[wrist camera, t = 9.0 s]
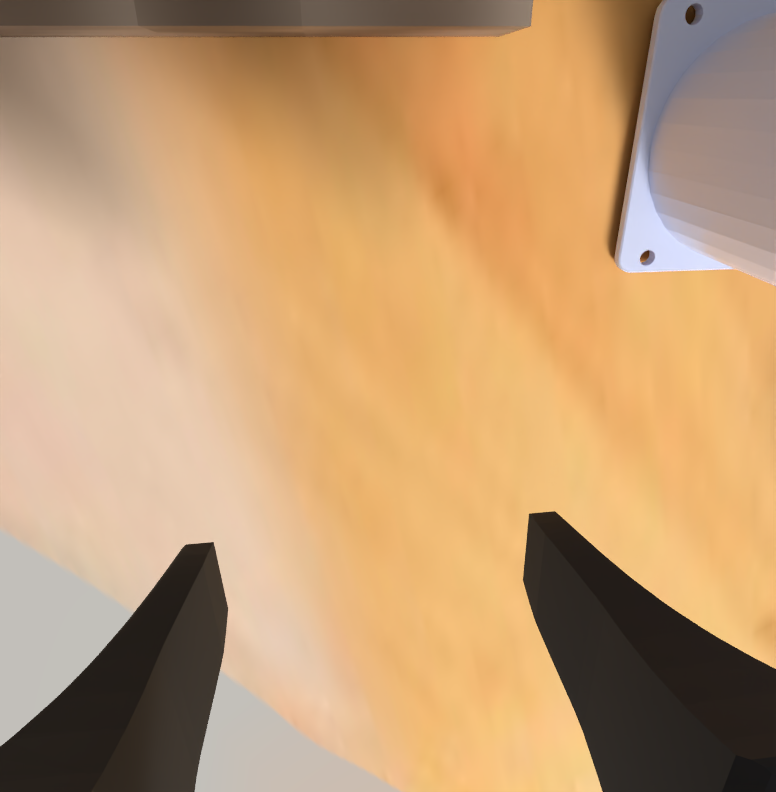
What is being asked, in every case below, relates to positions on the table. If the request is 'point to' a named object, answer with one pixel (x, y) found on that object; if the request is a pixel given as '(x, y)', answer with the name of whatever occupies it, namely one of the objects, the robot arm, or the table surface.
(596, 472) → the table surface
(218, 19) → the post foot
